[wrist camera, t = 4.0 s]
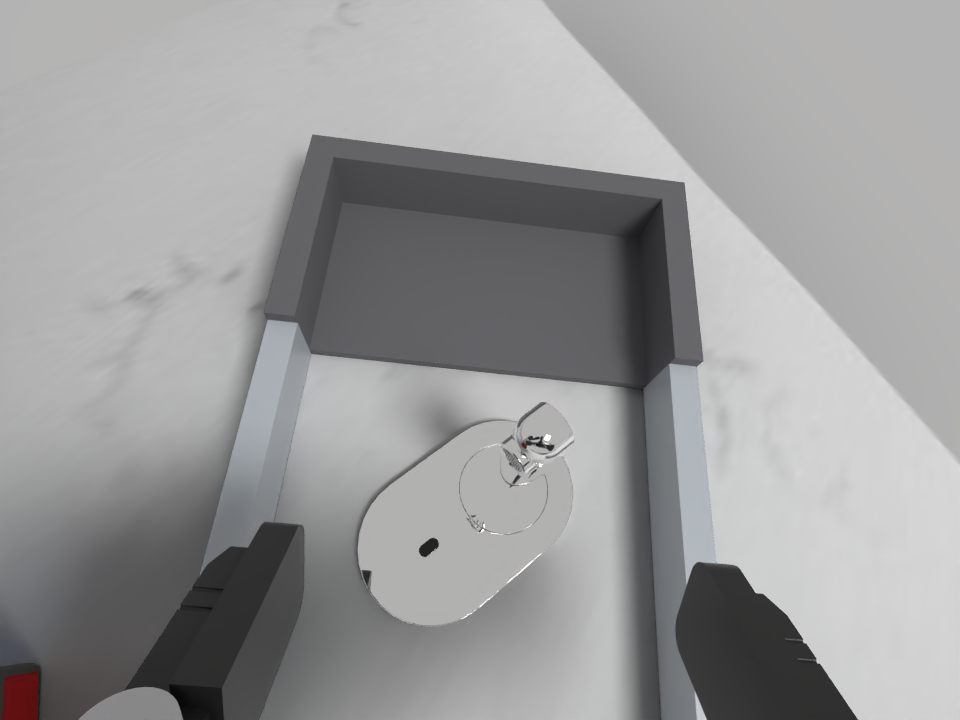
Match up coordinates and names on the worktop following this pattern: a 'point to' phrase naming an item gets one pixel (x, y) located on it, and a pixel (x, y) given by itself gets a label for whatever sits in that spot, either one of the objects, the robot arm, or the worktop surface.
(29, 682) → the puzzle toy
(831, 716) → the robot arm
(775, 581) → the worktop surface
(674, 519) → the channel
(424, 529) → the stand
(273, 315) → the dark pocket
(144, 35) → the worktop surface
